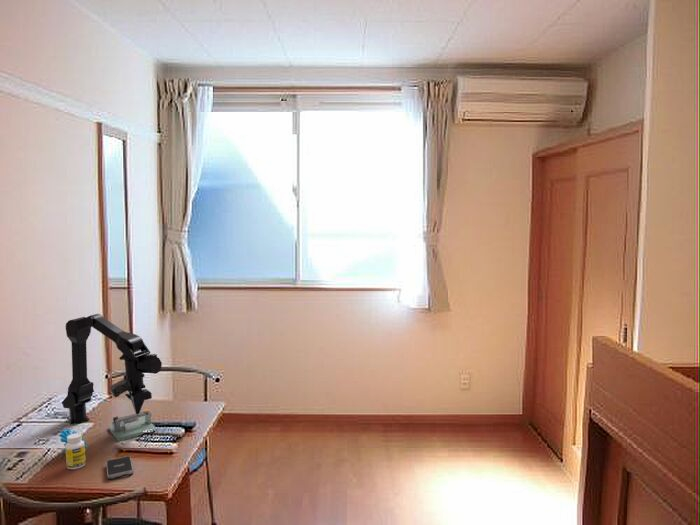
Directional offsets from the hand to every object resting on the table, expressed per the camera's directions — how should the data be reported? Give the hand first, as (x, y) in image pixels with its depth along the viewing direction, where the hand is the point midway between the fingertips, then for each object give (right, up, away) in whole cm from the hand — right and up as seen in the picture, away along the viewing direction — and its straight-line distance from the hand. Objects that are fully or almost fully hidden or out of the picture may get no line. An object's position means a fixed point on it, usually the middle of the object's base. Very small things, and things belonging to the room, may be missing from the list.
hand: (137, 413), depth 199 cm
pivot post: (-6, -6, -4) cm, 9 cm away
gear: (-14, -8, -17) cm, 24 cm away
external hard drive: (+7, -9, -31) cm, 34 cm away
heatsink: (-2, -5, -1) cm, 5 cm away
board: (-2, -6, -1) cm, 6 cm away
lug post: (+3, -5, +3) cm, 7 cm away
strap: (-1, -1, -1) cm, 2 cm away
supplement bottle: (-8, -9, -28) cm, 30 cm away
